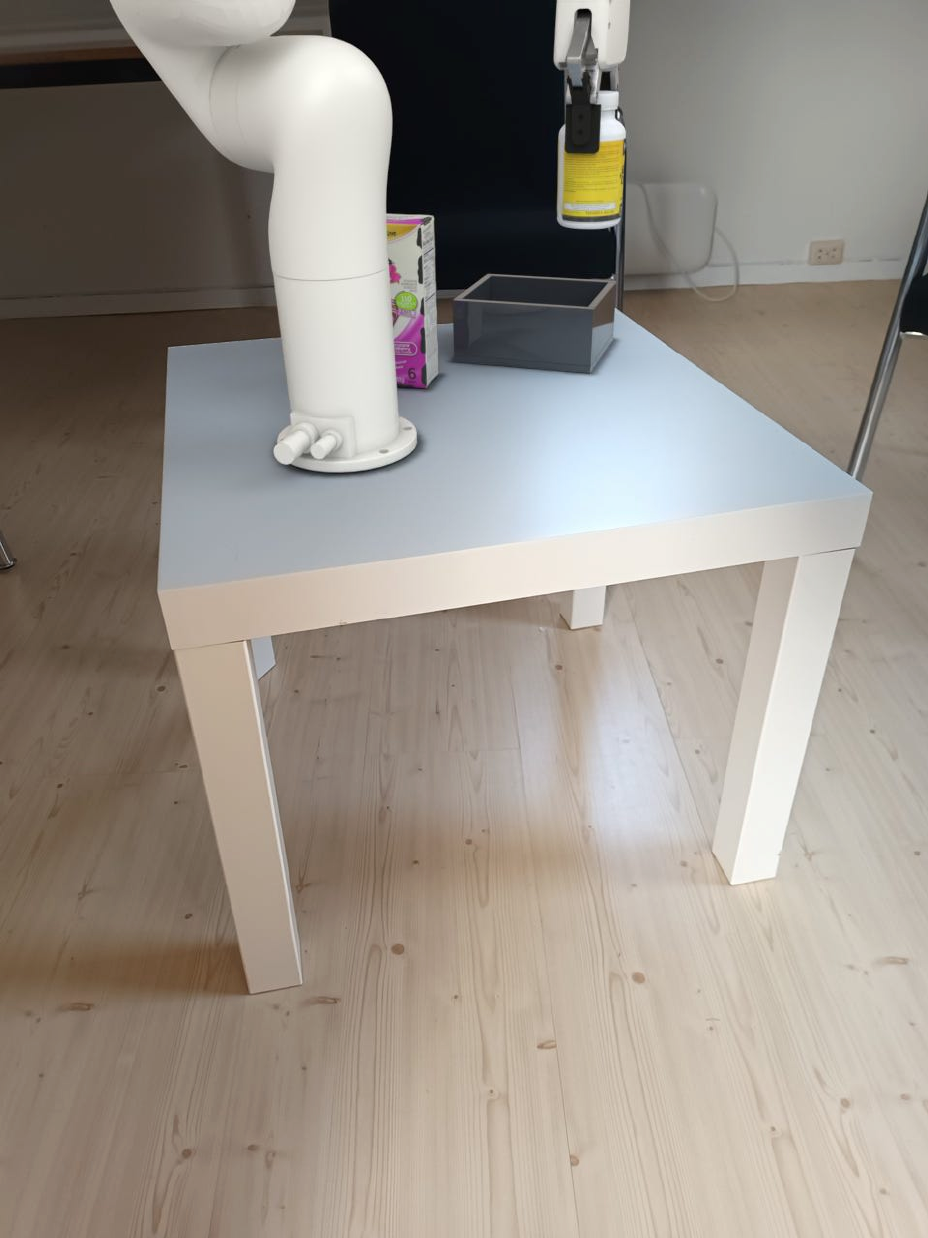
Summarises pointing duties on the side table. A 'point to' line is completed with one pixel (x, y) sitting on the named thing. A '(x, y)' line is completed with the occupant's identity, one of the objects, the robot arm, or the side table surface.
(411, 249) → the candy bar box
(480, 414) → the side table surface
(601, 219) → the pill bottle
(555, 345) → the open box
